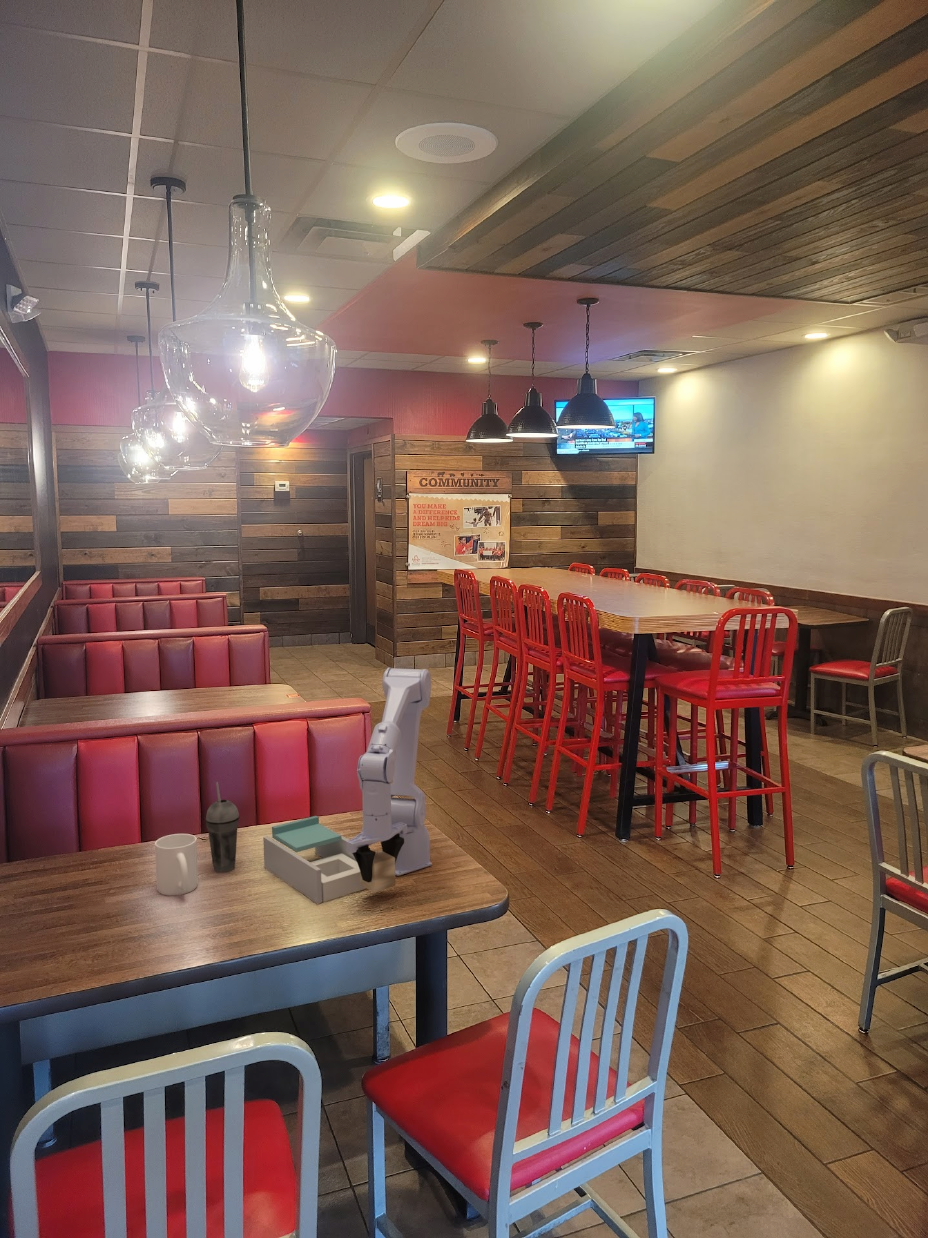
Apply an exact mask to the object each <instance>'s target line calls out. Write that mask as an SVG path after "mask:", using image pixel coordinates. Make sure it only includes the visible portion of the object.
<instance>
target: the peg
mask: <svg viewBox="0 0 928 1238" xmlns="http://www.w3.org/2000/svg"><path fill="white" fill-rule="evenodd" d="M375 852H376V853H375V856H374V860H373V866H372V881H371V882H369V883H368V882H366V881H364V880H362V876H361V885H362V886H364V887H366V889H368V890H369V891H371V892H372V893H375V894H376V893H378V892H382V891H385V890H388V889H391V888H394V887H396V875H395V857H393V856H391V855H389V854H387V853H385V852H383V851H382V850H378V851H375Z"/></svg>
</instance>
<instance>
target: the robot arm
mask: <svg viewBox="0 0 928 1238" xmlns="http://www.w3.org/2000/svg"><path fill="white" fill-rule="evenodd" d="M382 676H383V677H382V690H383V692H384V697H385V699H386V700H385V703H384V704H385V706H384V710H383V713H382V714H383V715H382V718H381V722H379V723H377V724H376V725H375V726H374V727H373V731H372V734H371V736H370V740H369V743H368V745H367V749H366V752H364V754H361V755H360V756H359V758H358V762H357V770H356V771H357V772H356V774H357V778H358V781H359V790H360V791H361V792H362V828H361V832H360V833H358V834H357V835H355V836H354V837H353V838H351V839H349V840H348V841H346V850H347V851H349V852H351V853H352V854H353V856H354V857H355V859H356V861H357V863H358V866H359V869H360V872H361V876H362V880H364V881H366V882H368V883H369V882H371V881H372V866H373V860H374V856H375V853H376V852H377V851H374V850H371V847H370V846H372V845H374V844H377V843H379V842H380V845H381V851H383V852H385V853H387V854H389V855H391V856H393V857H395V876H397V877H400V876H402V875H404V874H409V873H412V872H415V871H418V870H421V869H425V868H428V867H431V866H432V865H433V862H431V850H430V849H431V845H430V844H431V843H430V842H431V839H430V832H429V830H428V827H426V825H425V820H426V815H427V806H426V805H427V804H426V794H425V792H424V791H423V790H422V789H421V788H420V787H419V786H418V785H416V783H415V779H416V771H417V770H416V769H417V760H418V759H417V758H418V746H419V735H420V723H421V717H422V711H423V710H425V709H427V708H428V707H429V706H430V702H431V693H432V676H431V673H430V671H429V669H427V668H423V669H420V668H419V669H417V668H416V669H415V668H413V669H412V668H396V667H395V668H393V667H387V668H386V669H385V671H384V673H383V675H382ZM396 796H397V797H396ZM402 797H403V798H402ZM405 797H411V798H405Z"/></svg>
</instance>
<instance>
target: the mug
mask: <svg viewBox="0 0 928 1238" xmlns="http://www.w3.org/2000/svg"><path fill="white" fill-rule="evenodd" d="M197 841H198V840H197V837H196V836H195V835H193V834H189V833H174V834H169V835H164V836H162V837H160V838H157V840H156V841H155V842H154V854H155V855H154V856H155V857H154V859H155V860H154V861H155V880H156V890H157V891H158V892H159V894H162V895H164V896H168V897H172V896H173V897H174V896H181V895H186V894H188V893H191V892H193V891H194V890H195V889H197V887H198V884H199V867H198V864H199V863H198V842H197Z"/></svg>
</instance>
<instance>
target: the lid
mask: <svg viewBox="0 0 928 1238" xmlns="http://www.w3.org/2000/svg"><path fill="white" fill-rule="evenodd" d="M319 819H320V817H319V816H317V815H314V816H309V817H306V818H301V819H298V820H293V821H289V822H285V823H282V824H277V825H272V826H271V836H272V837H271V839H273V840H275V841H276V842H278V843H279V844H281V845H283V846H284V847H286V848H288V849H289V850H291V851H292V852H294V853H300V852H303V851H307V850H310V849H315V847H318V846H322V845H326V844H329V843H333V842H336V841H340V840H342V836H343V835H341V834H340V835H339V833H338V832H335V831H334V830H332V829H331V828H329V827H327V826H325V827H324V825H323V824H320V820H319ZM326 827H327V828H326ZM337 833H338V834H337Z"/></svg>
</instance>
